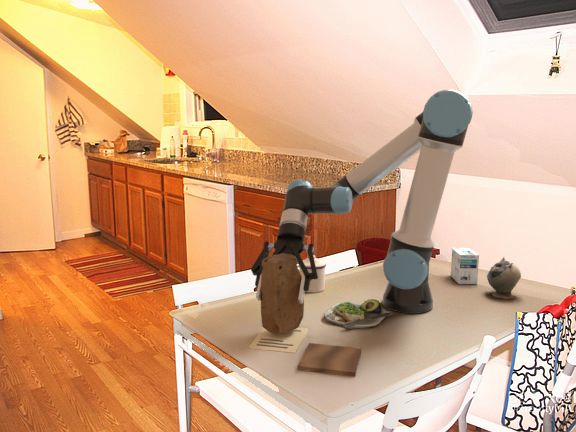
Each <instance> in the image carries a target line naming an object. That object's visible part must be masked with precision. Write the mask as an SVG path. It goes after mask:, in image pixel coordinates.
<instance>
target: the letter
mask: <svg viewBox="0 0 576 432" xmlns="http://www.w3.org/2000/svg"><path fill="white" fill-rule="evenodd" d="M308 330H309V327H308V328H307V327H300V326H299V327H298V328H296V329H294V330H293V331H291V332H288V333H284V334H276V333H271V332H269V331H267V330H266V329H265V328H264V327H262V328H261V330H260V332H258V334H257V336H256V337H255V338H254V340H253V341H252V342H251V344H249V346H248V349H254V350H263V351H271V352H273V351H274V352H280V353H281V352H282V353H288V354H289V353H291V354H296V353H297V351H298V350H299V347H300V345H301V344H302V342H303V339H304V338H305V336H306V335H307V332H308Z"/></svg>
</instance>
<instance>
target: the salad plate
mask: <svg viewBox="0 0 576 432" xmlns="http://www.w3.org/2000/svg"><path fill="white" fill-rule="evenodd" d="M381 304H382V303H381V302H380V300H377V299H374V298H373V299H372V298H371V299H367V300H364V302H362V303H356V302H352V301H344V302H338V303H335V304H333V306H331V307H330V308H329V309H328V310H326V311H325V312H324V314H323V316H324V318H325V320H327V322H329V323H331V324H333V325H336V326H339V327H343V328H349V329H366V328H373V327H376V326H378V325H379V324H380V323H381V322H382V321H383V320H384V319H386V318H387V317H390V316H391V315H393V311H387V310H386V309H385V308H382V305H381ZM336 314H337V315H338V316H340V317H343V319H344V321H340V320H337V319H335V318H334V317H335V315H336Z"/></svg>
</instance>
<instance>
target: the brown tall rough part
mask: <svg viewBox="0 0 576 432" xmlns="http://www.w3.org/2000/svg"><path fill="white" fill-rule="evenodd" d="M297 265H298V262H297V259H296V256H294V255H292V254H285V253H282V254H279V255H273V254H272V255H268V257H266V258H264V259H263V261H262V266H263V270H262V273H261V301H260V316H261V318H260V319H261V326H262V328H265V329H266V330H267V331H269V332H271V333H276V334H284V333H288V332H291V331H293V330H294V329H296V328H298V327H300V325H301V323H302V320H303V318H304V313H305V312H304V311H305V298H304V299H303V304H300V302H299V300H298V298H299V292H300V286H301V280H302V277H301V274H300V271H299V268H297Z"/></svg>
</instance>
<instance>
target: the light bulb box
mask: <svg viewBox="0 0 576 432" xmlns="http://www.w3.org/2000/svg"><path fill="white" fill-rule="evenodd" d="M450 263H451V264H450V266H451V267H450V277H451V278H453V280H455V282H456V283H457V284H459V285H478V281H479V280H478V279H479V278H478V277H479V276H478V275H479V263H480V254H478V253H476V252H475V251H474V250H472V249H471V248H470V247H469V248H468V247H452V248H451V262H450Z"/></svg>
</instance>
